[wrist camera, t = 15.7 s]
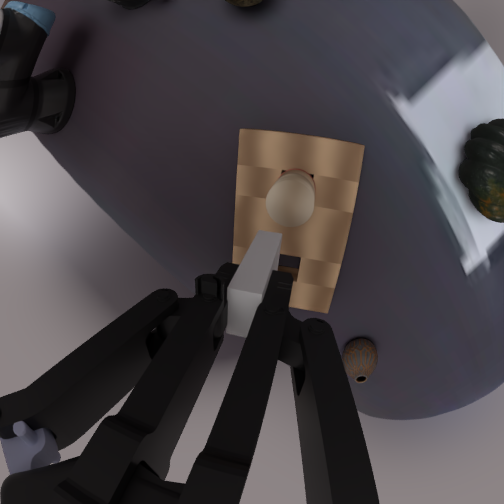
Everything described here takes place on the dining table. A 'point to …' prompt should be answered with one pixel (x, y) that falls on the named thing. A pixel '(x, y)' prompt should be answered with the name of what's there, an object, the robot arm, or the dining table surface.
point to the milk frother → (130, 3)
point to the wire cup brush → (244, 2)
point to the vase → (360, 359)
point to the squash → (485, 169)
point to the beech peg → (291, 198)
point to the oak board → (324, 214)
